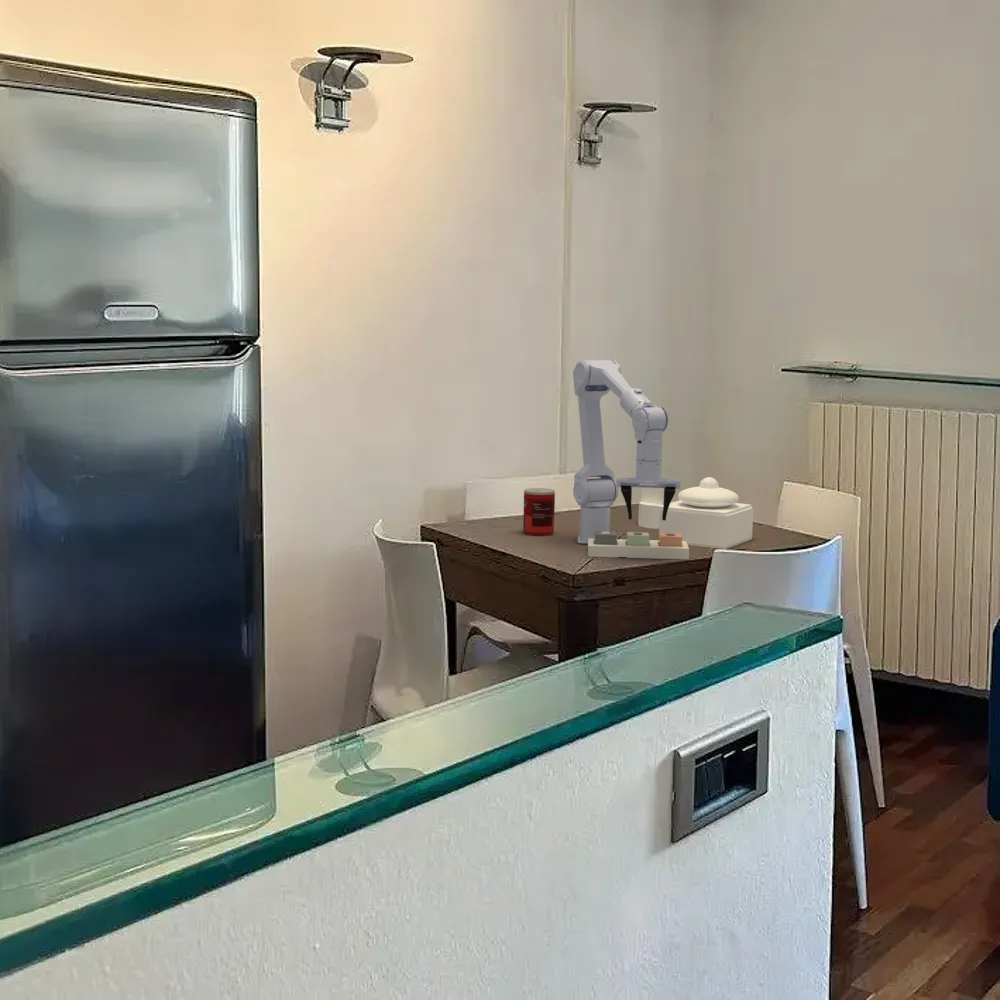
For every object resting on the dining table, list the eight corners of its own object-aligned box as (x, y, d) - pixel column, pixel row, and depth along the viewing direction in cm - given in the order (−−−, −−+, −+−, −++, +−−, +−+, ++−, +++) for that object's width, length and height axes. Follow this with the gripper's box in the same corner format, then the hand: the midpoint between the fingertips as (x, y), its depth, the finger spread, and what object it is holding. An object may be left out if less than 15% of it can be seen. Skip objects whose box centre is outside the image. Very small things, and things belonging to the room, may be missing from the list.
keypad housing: (587, 548, 323) (588, 538, 323) (685, 551, 322) (686, 541, 321) (587, 556, 313) (588, 545, 313) (688, 559, 312) (689, 548, 312)
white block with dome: (725, 550, 326) (728, 483, 324) (656, 542, 335) (658, 477, 333) (752, 539, 341) (755, 476, 338) (685, 532, 350) (688, 470, 348)
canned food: (535, 529, 349) (536, 487, 348) (560, 533, 344) (561, 490, 343) (516, 533, 344) (517, 489, 342) (541, 537, 338) (542, 493, 337)
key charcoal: (594, 544, 321) (594, 530, 320) (615, 545, 320) (616, 530, 320) (594, 548, 316) (594, 533, 315) (616, 549, 315) (616, 534, 315)
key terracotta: (658, 546, 320) (659, 532, 319) (680, 547, 319) (680, 532, 319) (659, 550, 315) (660, 535, 314) (681, 550, 314) (682, 536, 314)
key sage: (626, 545, 320) (627, 531, 320) (648, 546, 320) (648, 531, 319) (627, 549, 315) (627, 534, 315) (648, 549, 315) (649, 535, 314)
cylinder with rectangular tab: (631, 524, 360) (632, 479, 358) (656, 521, 365) (657, 477, 363) (654, 529, 352) (656, 483, 351) (679, 526, 358) (681, 481, 356)
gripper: (616, 461, 307) (615, 521, 309) (681, 462, 306) (679, 522, 308) (616, 457, 314) (615, 516, 316) (680, 459, 312) (678, 518, 314)
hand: (647, 519), depth 312 cm, fingers open, 7 cm apart
